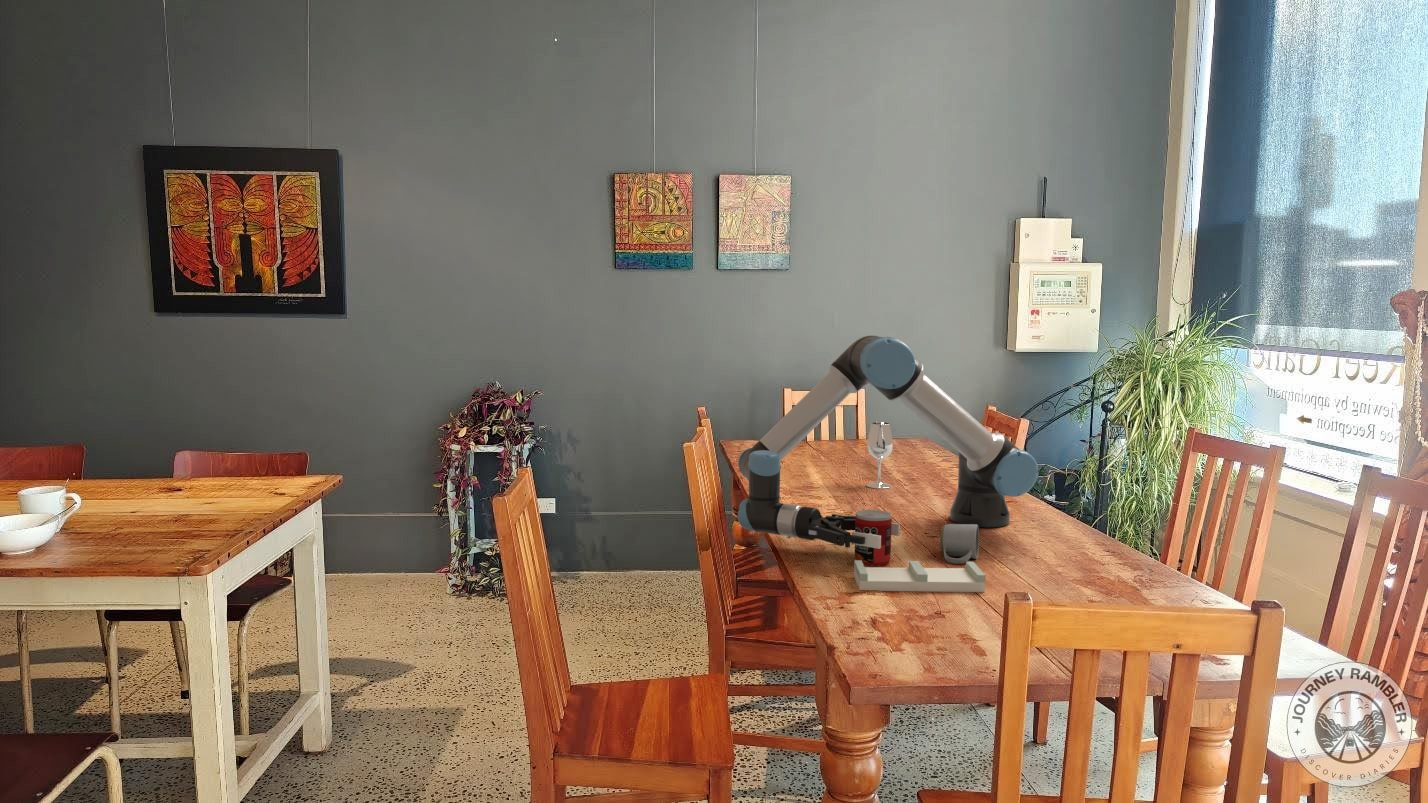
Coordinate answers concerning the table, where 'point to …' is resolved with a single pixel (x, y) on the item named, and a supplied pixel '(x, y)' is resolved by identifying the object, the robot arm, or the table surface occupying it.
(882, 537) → the canned food
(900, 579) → the rail
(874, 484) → the wineglass
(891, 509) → the table surface
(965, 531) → the ceramic mug
